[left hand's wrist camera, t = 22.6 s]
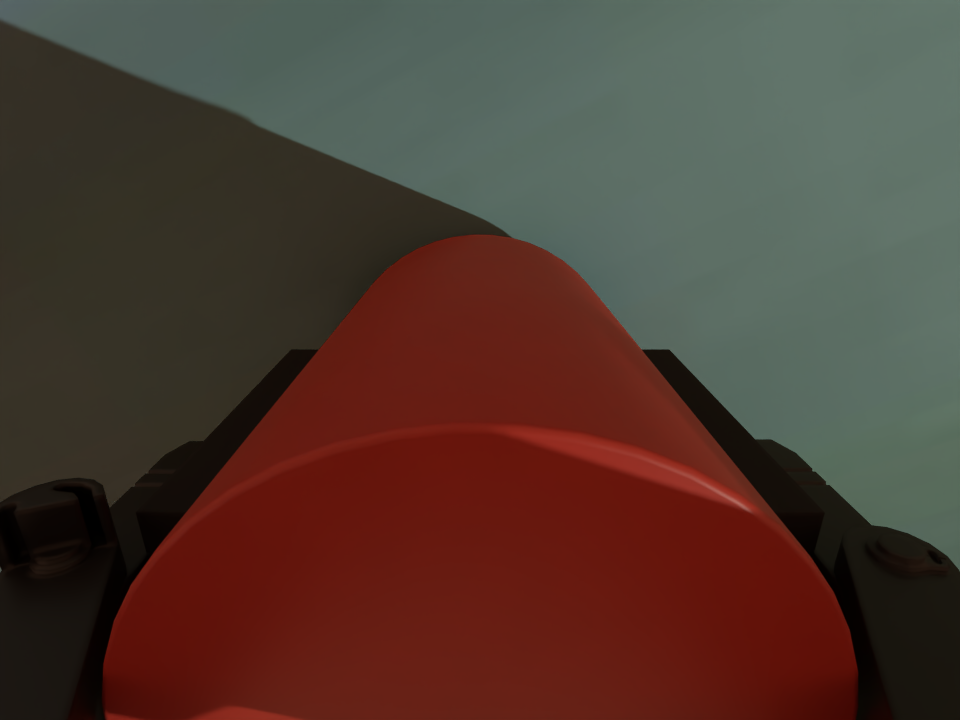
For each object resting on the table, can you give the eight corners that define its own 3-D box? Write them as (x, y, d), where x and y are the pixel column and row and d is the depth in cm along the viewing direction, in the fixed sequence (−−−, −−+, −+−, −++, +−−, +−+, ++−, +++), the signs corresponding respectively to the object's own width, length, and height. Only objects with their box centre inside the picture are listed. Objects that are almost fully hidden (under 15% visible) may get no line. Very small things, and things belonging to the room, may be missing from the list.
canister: (289, 355, 16) (-60, 727, 6) (497, 170, 14) (545, 218, 4) (466, 526, 18) (448, 1019, 8) (667, 384, 16) (989, 784, 6)
